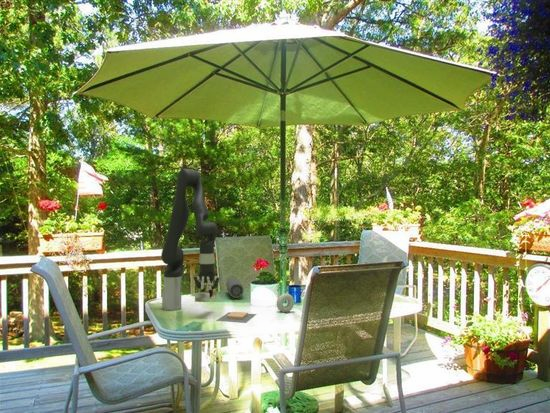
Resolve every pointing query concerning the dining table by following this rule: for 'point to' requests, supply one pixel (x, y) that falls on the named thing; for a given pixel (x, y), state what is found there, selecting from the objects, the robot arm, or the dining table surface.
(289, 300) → the donut
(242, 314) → the tile
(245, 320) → the mat
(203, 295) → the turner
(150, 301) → the dining table surface
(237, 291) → the bluetooth speaker
